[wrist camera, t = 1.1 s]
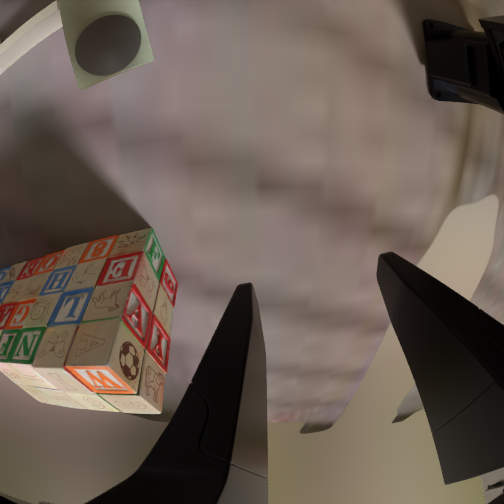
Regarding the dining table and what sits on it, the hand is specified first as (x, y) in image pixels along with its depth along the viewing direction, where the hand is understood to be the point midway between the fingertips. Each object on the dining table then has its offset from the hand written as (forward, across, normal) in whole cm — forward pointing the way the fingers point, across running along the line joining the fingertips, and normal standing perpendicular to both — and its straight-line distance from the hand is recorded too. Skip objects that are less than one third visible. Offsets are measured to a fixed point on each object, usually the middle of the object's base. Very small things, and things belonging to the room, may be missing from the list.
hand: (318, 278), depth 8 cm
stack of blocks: (+12, +20, +6) cm, 24 cm away
